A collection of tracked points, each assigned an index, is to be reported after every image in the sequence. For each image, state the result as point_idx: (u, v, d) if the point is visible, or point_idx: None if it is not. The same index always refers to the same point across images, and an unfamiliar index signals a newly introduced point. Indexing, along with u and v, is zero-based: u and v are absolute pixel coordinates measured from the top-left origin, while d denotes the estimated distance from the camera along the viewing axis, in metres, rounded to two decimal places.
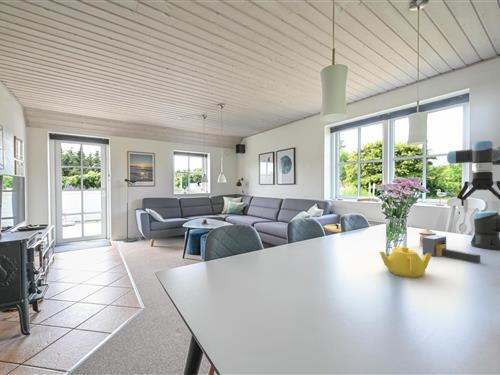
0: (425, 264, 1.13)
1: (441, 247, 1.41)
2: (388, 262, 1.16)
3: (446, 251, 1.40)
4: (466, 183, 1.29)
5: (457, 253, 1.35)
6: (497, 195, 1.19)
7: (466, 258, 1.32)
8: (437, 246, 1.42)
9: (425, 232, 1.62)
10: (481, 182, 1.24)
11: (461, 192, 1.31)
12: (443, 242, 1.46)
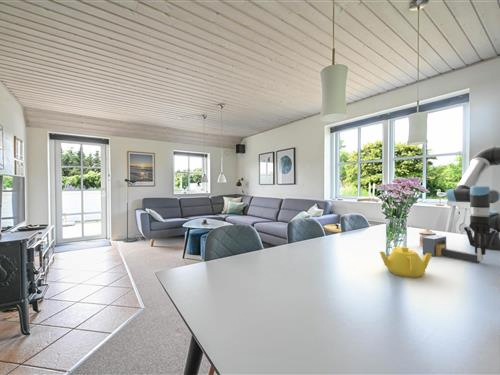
0: (425, 264, 1.13)
1: (440, 247, 1.42)
2: (388, 262, 1.16)
3: (445, 251, 1.40)
4: (466, 229, 1.32)
5: (456, 253, 1.35)
6: (482, 242, 1.26)
7: (465, 258, 1.32)
8: (436, 246, 1.43)
9: (425, 232, 1.62)
10: (479, 226, 1.27)
11: (469, 238, 1.31)
12: (443, 242, 1.46)
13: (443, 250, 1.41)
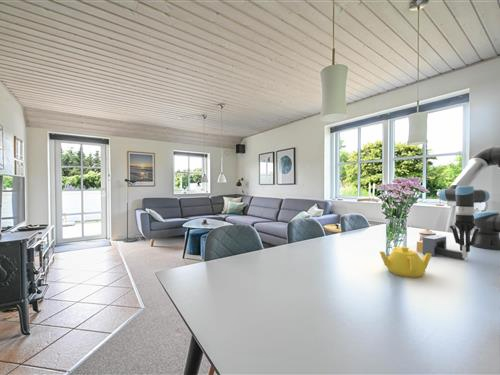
0: (425, 264, 1.13)
1: None
2: (388, 262, 1.16)
3: None
4: (452, 227, 1.37)
5: (443, 250, 1.41)
6: (467, 239, 1.32)
7: (451, 255, 1.37)
8: None
9: (425, 232, 1.62)
10: (463, 224, 1.33)
11: (455, 236, 1.36)
12: (443, 242, 1.46)
13: None
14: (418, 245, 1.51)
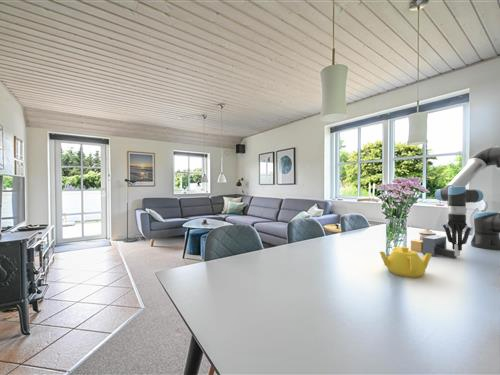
0: (425, 264, 1.13)
1: (422, 243, 1.50)
2: (388, 262, 1.16)
3: None
4: (444, 226, 1.40)
5: (436, 249, 1.44)
6: (459, 238, 1.35)
7: (444, 254, 1.40)
8: (418, 242, 1.51)
9: (425, 232, 1.62)
10: (456, 223, 1.36)
11: (447, 235, 1.39)
12: (443, 242, 1.46)
13: None
14: (412, 244, 1.54)
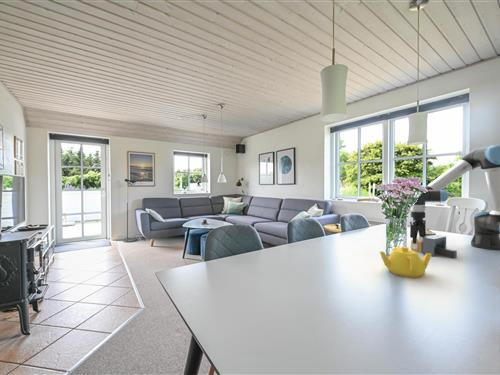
0: (425, 264, 1.13)
1: (422, 243, 1.50)
2: (388, 262, 1.16)
3: None
4: (415, 223, 1.50)
5: (436, 249, 1.44)
6: (423, 232, 1.55)
7: (444, 254, 1.41)
8: (418, 242, 1.51)
9: None
10: (419, 220, 1.53)
11: (415, 232, 1.50)
12: (443, 242, 1.46)
13: None
14: (412, 244, 1.54)
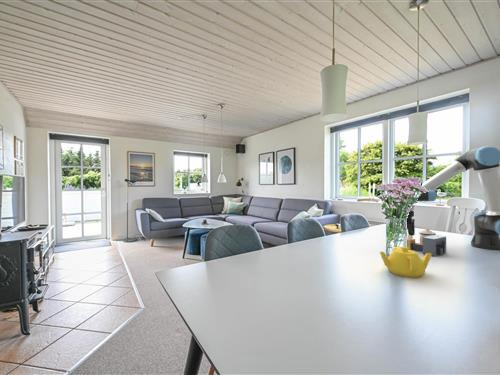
0: (425, 264, 1.13)
1: (410, 241, 1.56)
2: (388, 262, 1.16)
3: (414, 245, 1.54)
4: None
5: None
6: (412, 230, 1.60)
7: None
8: (407, 240, 1.57)
9: (425, 232, 1.62)
10: (408, 218, 1.59)
11: None
12: (443, 242, 1.46)
13: (413, 244, 1.55)
14: None
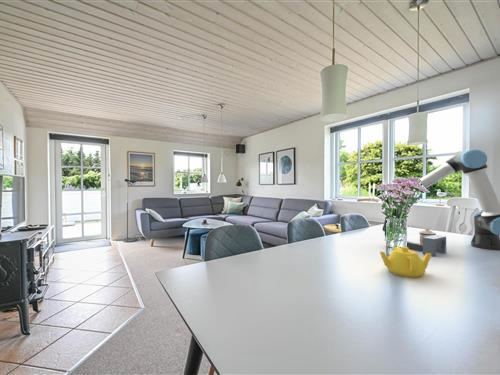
0: (425, 264, 1.13)
1: None
2: (388, 262, 1.16)
3: None
4: None
5: (408, 243, 1.58)
6: None
7: (414, 248, 1.54)
8: None
9: (425, 232, 1.62)
10: None
11: None
12: (443, 242, 1.46)
13: None
14: None
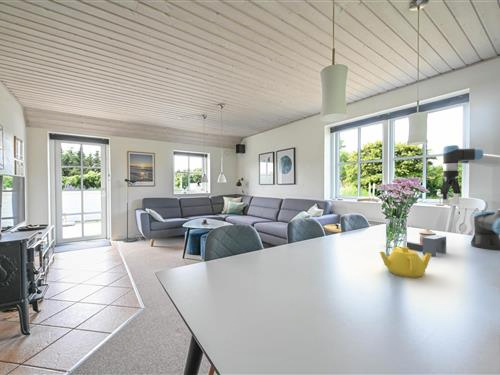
0: (425, 264, 1.13)
1: None
2: (388, 262, 1.16)
3: None
4: (448, 179, 1.50)
5: (408, 243, 1.58)
6: (457, 189, 1.56)
7: (414, 248, 1.54)
8: None
9: (425, 232, 1.62)
10: (452, 179, 1.53)
11: (446, 187, 1.49)
12: (443, 242, 1.46)
13: None
14: None
